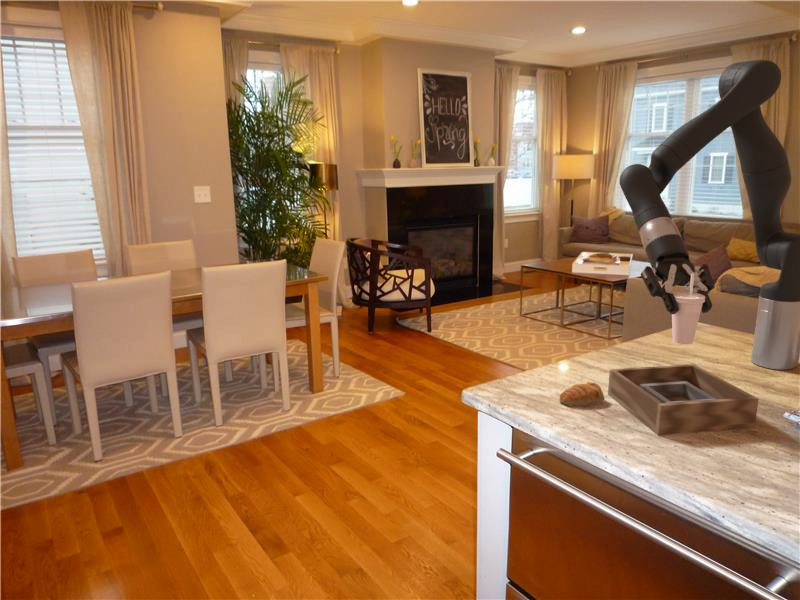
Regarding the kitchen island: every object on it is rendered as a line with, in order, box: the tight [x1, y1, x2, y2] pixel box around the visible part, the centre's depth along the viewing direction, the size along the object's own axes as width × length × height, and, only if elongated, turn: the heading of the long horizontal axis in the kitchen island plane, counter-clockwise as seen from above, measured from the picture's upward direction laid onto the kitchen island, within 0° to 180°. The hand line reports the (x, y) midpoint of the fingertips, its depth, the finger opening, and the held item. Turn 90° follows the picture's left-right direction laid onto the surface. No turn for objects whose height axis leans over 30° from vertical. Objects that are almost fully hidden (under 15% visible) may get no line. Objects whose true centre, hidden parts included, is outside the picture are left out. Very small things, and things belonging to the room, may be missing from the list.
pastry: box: [559, 381, 605, 407], centre depth 126 cm, size 9×7×4 cm
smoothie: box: [671, 274, 705, 345], centre depth 116 cm, size 6×6×14 cm
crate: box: [607, 363, 759, 436], centre depth 120 cm, size 20×20×6 cm
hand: (691, 311), depth 114 cm, fingers closed on smoothie, 6 cm apart
